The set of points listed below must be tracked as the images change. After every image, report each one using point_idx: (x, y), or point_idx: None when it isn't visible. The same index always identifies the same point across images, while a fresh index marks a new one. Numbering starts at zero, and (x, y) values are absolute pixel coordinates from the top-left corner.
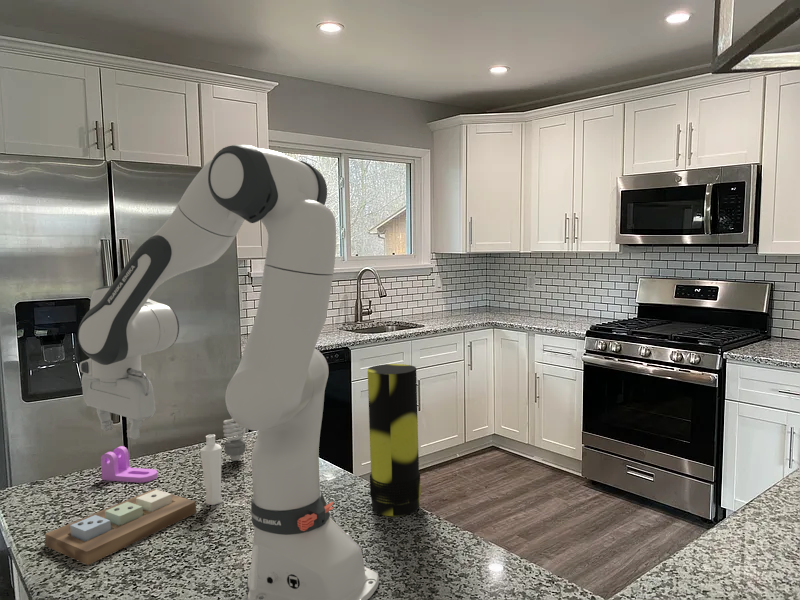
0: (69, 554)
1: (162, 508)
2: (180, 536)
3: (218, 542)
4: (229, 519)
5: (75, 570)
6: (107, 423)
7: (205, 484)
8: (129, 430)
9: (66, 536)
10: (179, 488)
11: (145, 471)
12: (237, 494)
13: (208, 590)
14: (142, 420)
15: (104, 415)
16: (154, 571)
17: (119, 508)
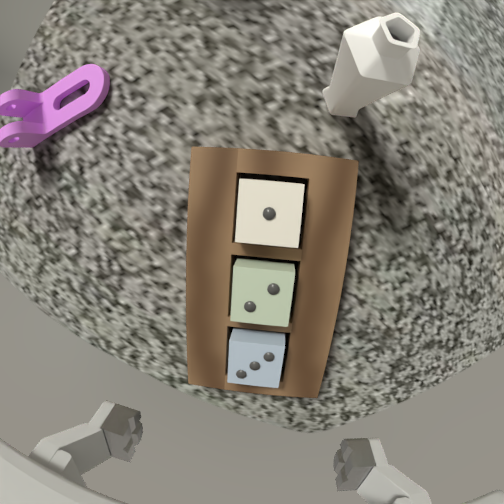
0: None
1: (312, 223)
2: (396, 259)
3: (465, 248)
4: (434, 164)
5: None
6: (130, 450)
7: (344, 103)
8: (360, 491)
9: None
10: (201, 79)
11: (77, 82)
12: None
13: (498, 343)
14: (426, 496)
15: (81, 457)
16: (424, 352)
17: (253, 302)
